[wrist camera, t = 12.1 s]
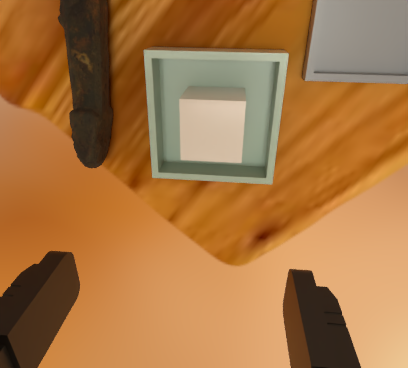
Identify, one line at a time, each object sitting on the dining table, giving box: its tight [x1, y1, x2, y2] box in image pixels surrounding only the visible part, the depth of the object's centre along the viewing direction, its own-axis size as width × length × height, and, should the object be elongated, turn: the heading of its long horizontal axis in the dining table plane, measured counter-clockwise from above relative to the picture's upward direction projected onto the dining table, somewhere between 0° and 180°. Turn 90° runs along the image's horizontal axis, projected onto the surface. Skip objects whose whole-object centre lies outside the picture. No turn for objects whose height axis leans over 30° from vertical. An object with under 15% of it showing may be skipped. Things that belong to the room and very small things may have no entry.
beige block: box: [179, 86, 246, 163], centre depth 27 cm, size 5×5×5 cm
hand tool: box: [58, 0, 113, 168], centre depth 27 cm, size 19×4×5 cm, turn 173°
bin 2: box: [302, 0, 408, 84], centre depth 25 cm, size 9×9×2 cm
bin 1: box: [144, 47, 289, 184], centre depth 29 cm, size 11×11×3 cm
